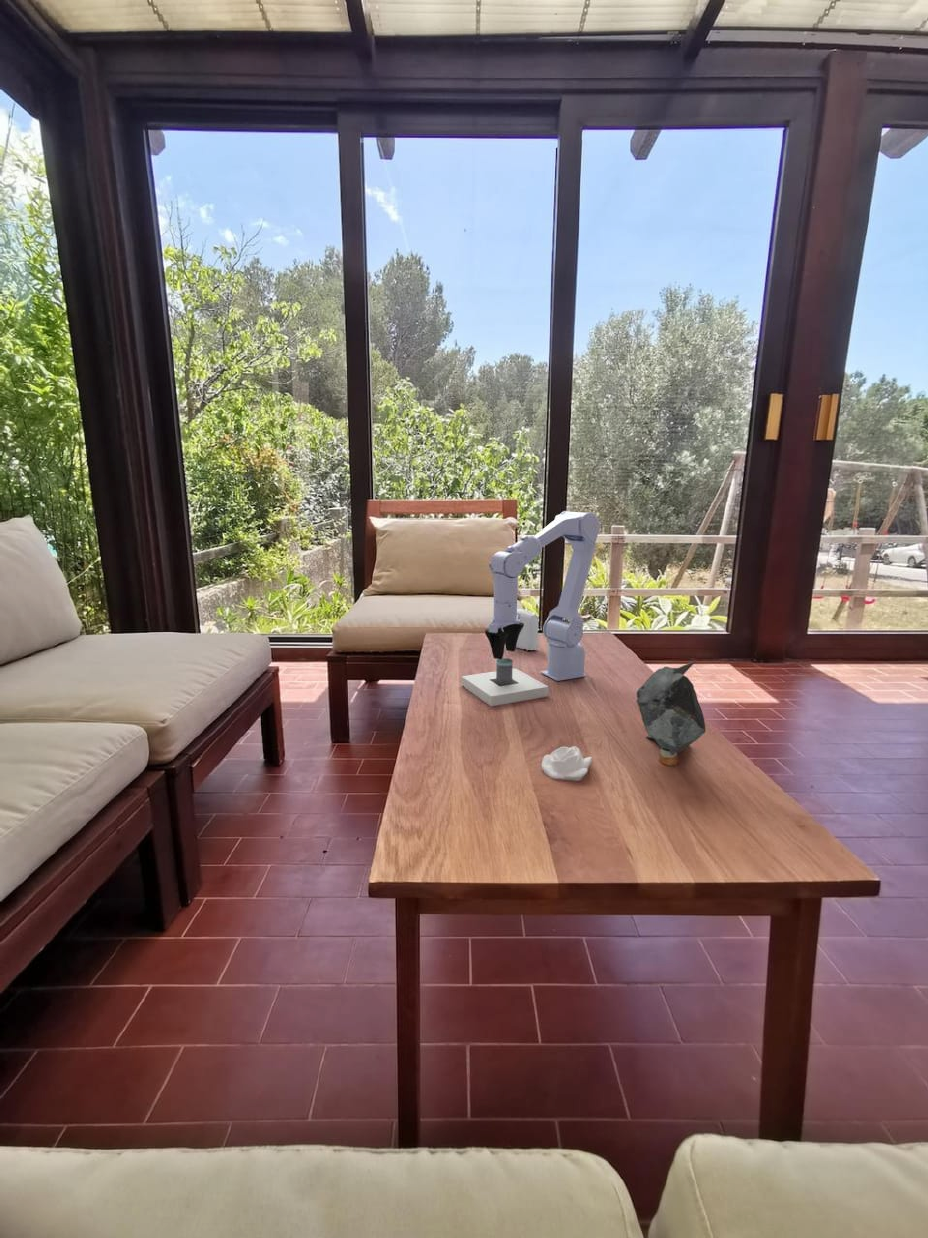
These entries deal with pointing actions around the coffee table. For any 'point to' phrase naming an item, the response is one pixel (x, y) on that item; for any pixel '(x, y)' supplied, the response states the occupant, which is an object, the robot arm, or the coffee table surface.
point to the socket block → (504, 688)
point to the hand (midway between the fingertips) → (504, 654)
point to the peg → (504, 671)
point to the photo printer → (528, 630)
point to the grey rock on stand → (671, 711)
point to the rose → (566, 764)
